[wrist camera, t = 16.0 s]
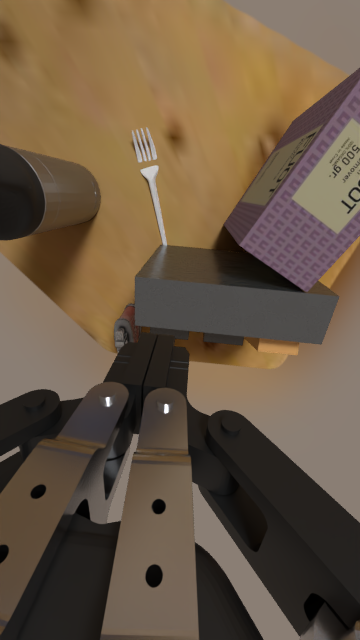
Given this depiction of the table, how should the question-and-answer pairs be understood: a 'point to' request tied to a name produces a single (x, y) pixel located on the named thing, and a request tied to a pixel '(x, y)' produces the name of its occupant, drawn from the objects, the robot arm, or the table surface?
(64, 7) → the table surface
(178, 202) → the table surface
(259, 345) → the panel
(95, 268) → the table surface
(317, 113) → the box
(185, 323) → the box
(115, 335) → the lighter
